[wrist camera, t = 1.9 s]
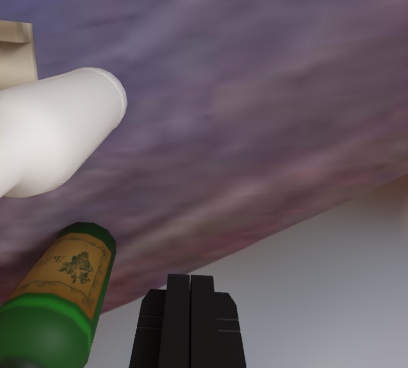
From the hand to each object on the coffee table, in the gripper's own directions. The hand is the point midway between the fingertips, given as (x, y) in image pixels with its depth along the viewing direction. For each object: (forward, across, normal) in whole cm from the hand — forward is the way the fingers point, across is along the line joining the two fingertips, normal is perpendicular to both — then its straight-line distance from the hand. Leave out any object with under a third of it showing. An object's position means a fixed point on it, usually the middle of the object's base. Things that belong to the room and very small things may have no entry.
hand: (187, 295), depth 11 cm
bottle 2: (+34, +14, +22) cm, 43 cm away
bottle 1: (+34, +12, 0) cm, 36 cm away
